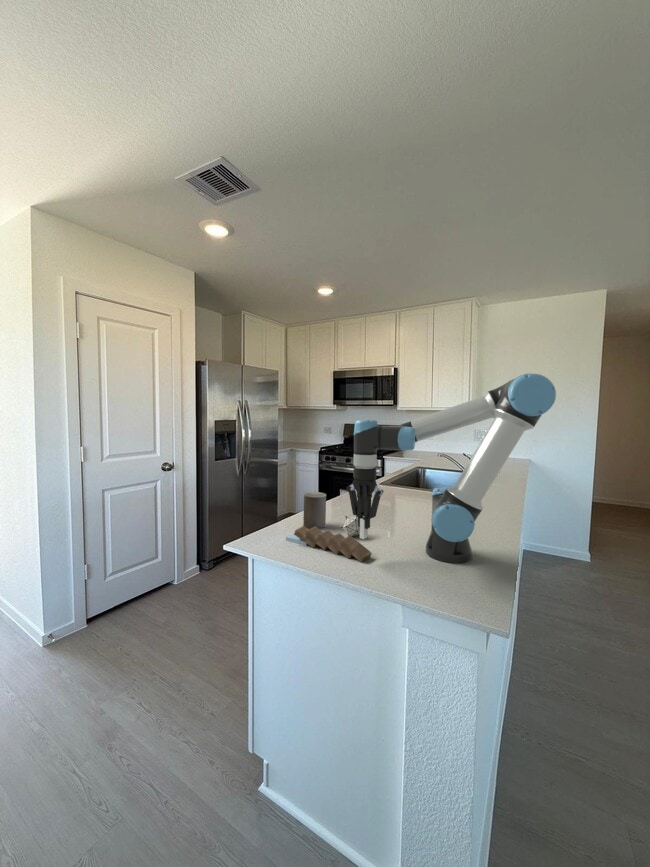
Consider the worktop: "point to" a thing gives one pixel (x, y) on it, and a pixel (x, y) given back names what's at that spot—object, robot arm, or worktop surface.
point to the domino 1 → (295, 540)
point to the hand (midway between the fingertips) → (363, 537)
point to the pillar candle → (314, 510)
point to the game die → (351, 526)
